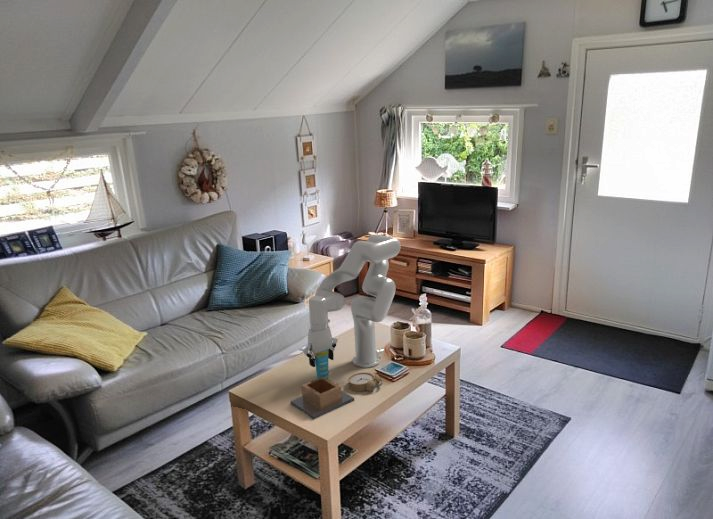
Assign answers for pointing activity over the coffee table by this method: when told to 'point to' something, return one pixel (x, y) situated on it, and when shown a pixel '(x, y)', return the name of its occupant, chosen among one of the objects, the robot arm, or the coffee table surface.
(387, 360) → the coffee table surface
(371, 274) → the robot arm
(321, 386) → the wooden box on base
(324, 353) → the tube
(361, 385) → the alarm clock
